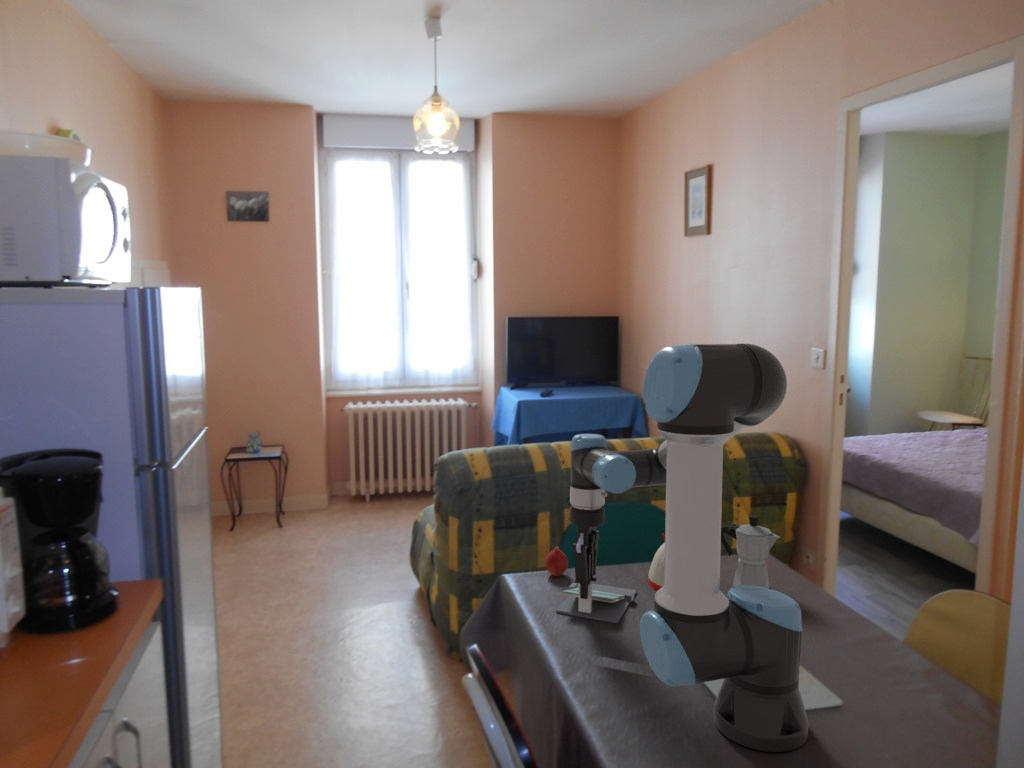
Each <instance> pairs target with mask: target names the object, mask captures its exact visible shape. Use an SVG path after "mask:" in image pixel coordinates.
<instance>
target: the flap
mask: <svg viewBox="0 0 1024 768" xmlns="http://www.w3.org/2000/svg"><path fill="white" fill-rule="evenodd" d="M561 595H562V596H567V597H568V596H573V597H579V587H577V588H574V589H570V590H569V589H567V590H566V589H565V590H562V591H561ZM622 599H626V595H623V594H616V593H610V592H604V591H598V590H592V600H597V601H603V602H609V603H613V602H616V601H619V600H622Z"/></svg>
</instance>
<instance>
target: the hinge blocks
mask: <svg viewBox="0 0 1024 768" xmlns="http://www.w3.org/2000/svg"><path fill="white" fill-rule="evenodd" d="M577 585H578V583H575V582H571V584H570V585H569V587H568V588H569V589H568V590H570V589H574V588H577ZM634 598H635V596H634V592H628V594H627V595H626V601H627V602H630V603H632V602H633V600H634Z"/></svg>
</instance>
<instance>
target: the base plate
mask: <svg viewBox="0 0 1024 768" xmlns="http://www.w3.org/2000/svg"><path fill="white" fill-rule="evenodd" d="M577 587H579V583H577ZM592 590H598V591H604V592H610V593H616V594H623V595H627V594H628V592H634V597H635V596H636V595H637V590H636V589H630V588H624V587H623V588H622V587H617V586H611V585H605V584H598V583H592ZM630 604H631V602H627V601H626V599H622V600H619V601H616V602H613V603H609V602H603V601H597V600H592V612H591V613H586V612H580V611H578V605H579V597H573V596H567V597H566V598H565V599H564V600H563V601H562V603H561V604H560V605H559V606H558V607H557V608H556V610H555V613H556V614H561V615H566V616H567V615H568V616H571V617H579V618H585V619H590V620H596V621H601V622H607V623H612V624H613V623H614V624H618V623H619V621H620V620H621V618H622V617H623V615H624V614H625V612H626V611H627V609H628V607H629V606H630Z"/></svg>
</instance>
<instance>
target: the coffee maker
mask: <svg viewBox="0 0 1024 768" xmlns="http://www.w3.org/2000/svg"><path fill="white" fill-rule="evenodd" d="M748 520H749V521H748V522H749V524H741V525H739V524H738V523H732V524H730V525H721V544H722V547H723V548H724V549H725V551H726V553H727V555H728V557H731V556H732V555H733V554H734V552H733V550H732V548H731V546H730V544H729V543H728V541H727V539H726V537H725V536H724V534H726V535H728V536H729V537H731V538H733V539H734V540H735V543H736V544H735V545H736V553H737V555H738V559H737V561H736V567H735V572H734V575H733V576H734V577H733V583H732V587H733V586H736V585H754V586H760V587H764V588H768V589H769V588H770V582H769V581H770V579H769V574H768V573H769V572H768V564H767V561H766V560H767V559H768V557H769V555H770V550H771V549H772V547H773V546H774V544H775V543H776V541H777V540H778V539H780V538H781V536H779V535H777V534H776V533H773V532H772V531H771V530H770V528H767V527H764V526H760V525H758V522H759V515H755V514H750V515H748ZM770 589H771V588H770Z"/></svg>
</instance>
